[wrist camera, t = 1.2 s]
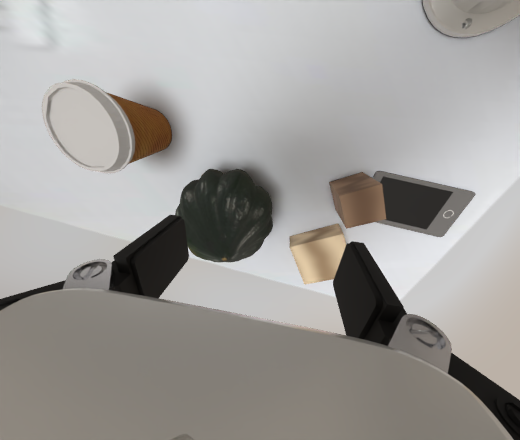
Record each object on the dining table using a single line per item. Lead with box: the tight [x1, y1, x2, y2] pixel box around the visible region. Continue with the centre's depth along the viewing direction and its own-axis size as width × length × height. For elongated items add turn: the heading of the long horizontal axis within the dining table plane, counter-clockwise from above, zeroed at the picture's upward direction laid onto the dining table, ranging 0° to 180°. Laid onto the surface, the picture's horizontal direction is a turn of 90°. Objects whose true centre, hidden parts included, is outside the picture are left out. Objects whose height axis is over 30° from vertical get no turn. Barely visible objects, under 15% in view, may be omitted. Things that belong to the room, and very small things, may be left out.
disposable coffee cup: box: [42, 79, 172, 173], centre depth 25 cm, size 10×10×12 cm
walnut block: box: [329, 172, 386, 229], centre depth 27 cm, size 5×5×7 cm
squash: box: [175, 169, 273, 262], centre depth 29 cm, size 14×15×15 cm
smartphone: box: [373, 171, 475, 237], centre depth 30 cm, size 15×8×1 cm, turn 79°
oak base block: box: [290, 224, 346, 284], centre depth 35 cm, size 9×9×4 cm
